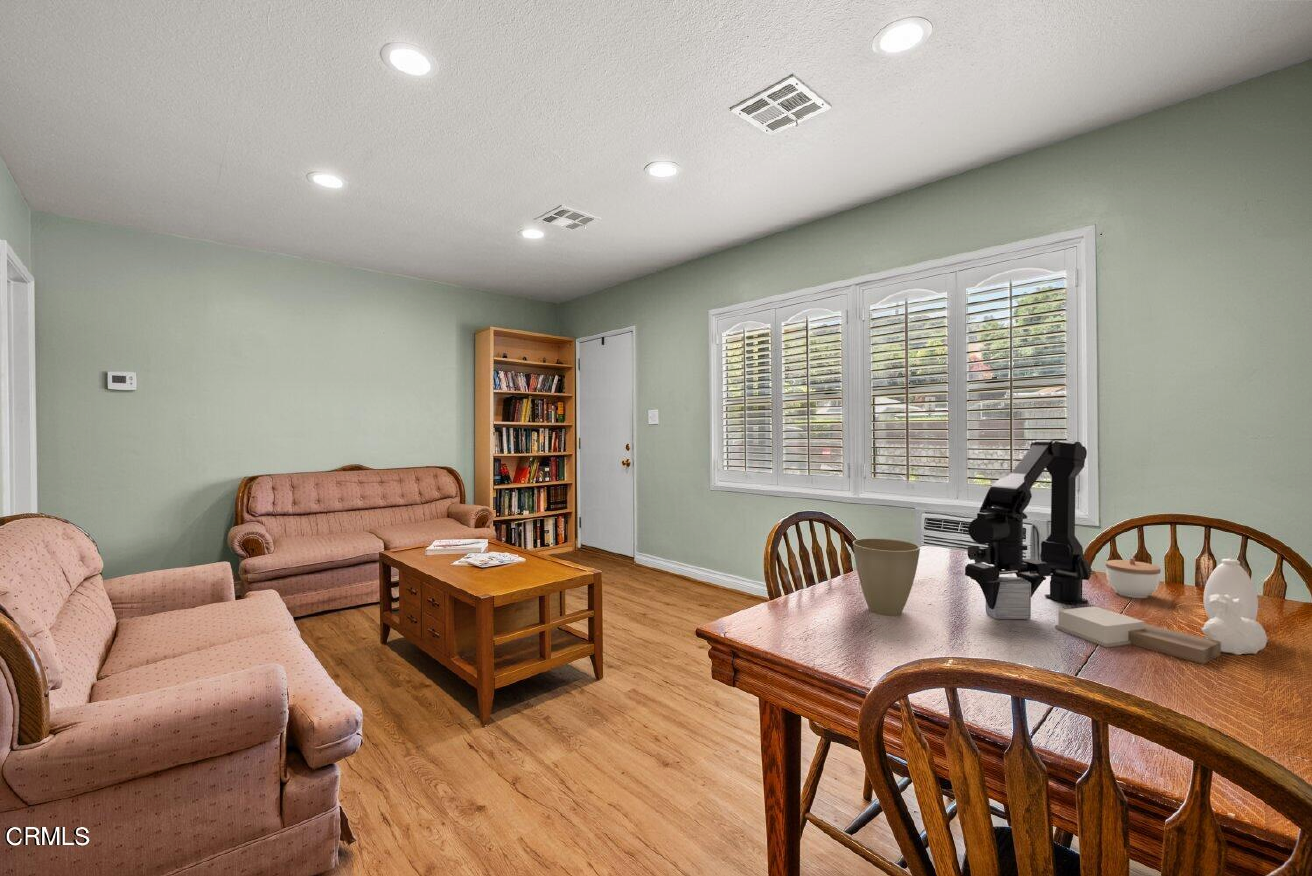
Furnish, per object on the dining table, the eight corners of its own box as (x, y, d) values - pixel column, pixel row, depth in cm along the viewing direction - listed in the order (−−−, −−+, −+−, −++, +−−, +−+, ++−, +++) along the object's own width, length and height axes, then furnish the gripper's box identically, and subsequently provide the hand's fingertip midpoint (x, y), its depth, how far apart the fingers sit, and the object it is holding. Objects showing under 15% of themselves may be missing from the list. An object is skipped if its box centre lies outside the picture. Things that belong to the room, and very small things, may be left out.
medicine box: (1020, 613, 130) (1020, 576, 129) (1031, 620, 125) (1031, 582, 125) (984, 613, 130) (984, 576, 130) (994, 619, 126) (994, 581, 126)
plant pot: (911, 626, 122) (911, 554, 122) (844, 613, 131) (844, 545, 131) (926, 608, 134) (926, 542, 134) (863, 597, 143) (863, 535, 143)
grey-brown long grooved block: (1141, 634, 116) (1141, 622, 116) (1220, 655, 105) (1220, 642, 105) (1123, 642, 112) (1123, 629, 112) (1203, 664, 102) (1203, 650, 102)
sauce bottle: (1241, 641, 112) (1241, 552, 111) (1194, 628, 119) (1195, 544, 119) (1267, 637, 114) (1268, 549, 114) (1219, 624, 121) (1220, 542, 121)
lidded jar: (1096, 592, 145) (1096, 556, 145) (1119, 586, 150) (1119, 552, 150) (1146, 603, 136) (1146, 565, 135) (1169, 597, 140) (1169, 560, 140)
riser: (1094, 623, 123) (1094, 605, 123) (1148, 641, 112) (1148, 622, 112) (1055, 628, 120) (1055, 609, 120) (1106, 647, 110) (1106, 627, 110)
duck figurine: (1256, 658, 109) (1218, 602, 116) (1295, 646, 103) (1252, 588, 110) (1202, 661, 108) (1166, 604, 115) (1238, 650, 102) (1198, 590, 109)
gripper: (1011, 530, 137) (1011, 593, 138) (947, 535, 133) (947, 599, 133) (1053, 539, 126) (1052, 607, 127) (984, 544, 122) (984, 615, 122)
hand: (1007, 607), depth 128 cm, fingers closed on medicine box, 9 cm apart
